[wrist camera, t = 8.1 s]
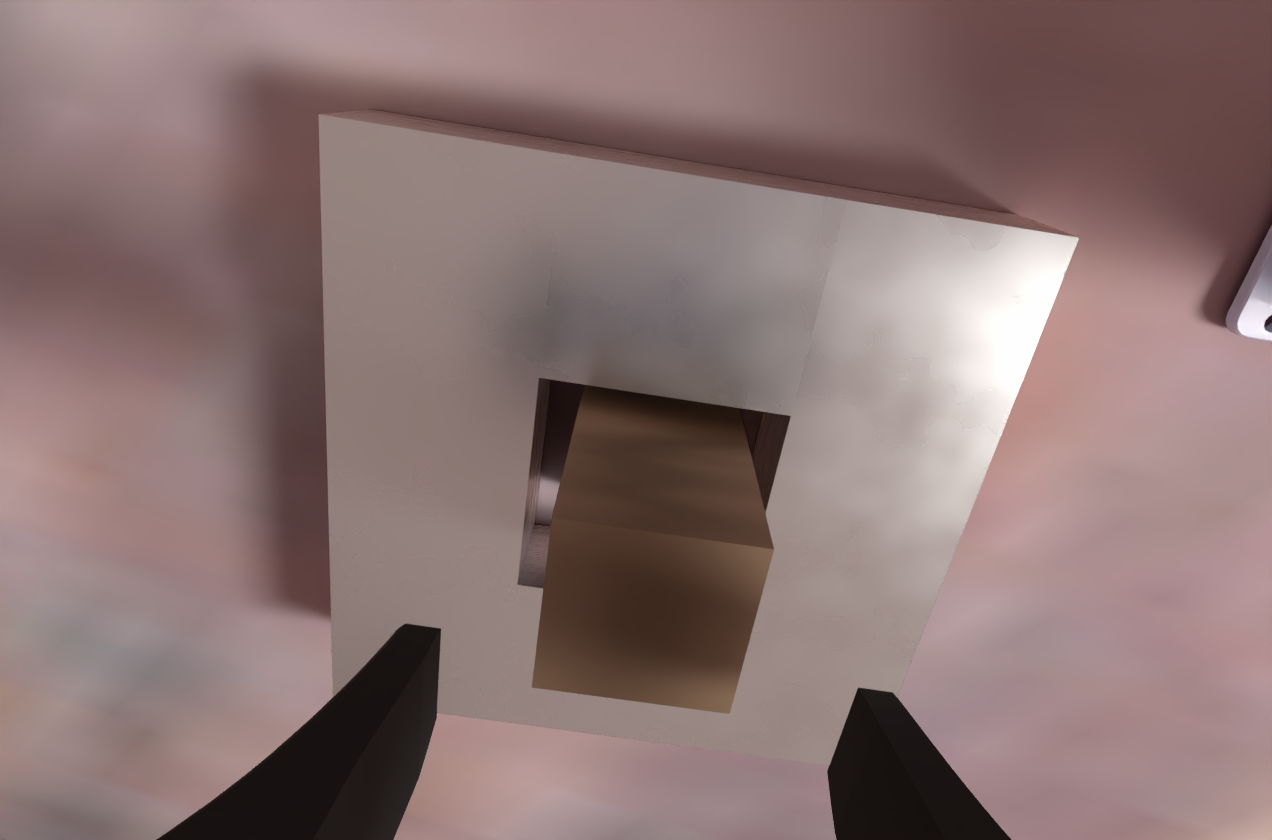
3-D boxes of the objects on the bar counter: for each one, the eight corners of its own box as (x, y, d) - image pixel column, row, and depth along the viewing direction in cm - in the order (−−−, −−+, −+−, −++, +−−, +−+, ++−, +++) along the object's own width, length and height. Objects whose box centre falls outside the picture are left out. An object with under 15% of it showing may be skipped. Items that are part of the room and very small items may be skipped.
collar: (1017, 214, 18) (1079, 237, 16) (845, 696, 25) (868, 770, 22) (371, 109, 18) (318, 114, 15) (369, 630, 24) (333, 699, 22)
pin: (733, 383, 21) (774, 549, 13) (706, 506, 22) (729, 713, 15) (590, 362, 20) (551, 517, 13) (573, 487, 22) (531, 687, 15)
